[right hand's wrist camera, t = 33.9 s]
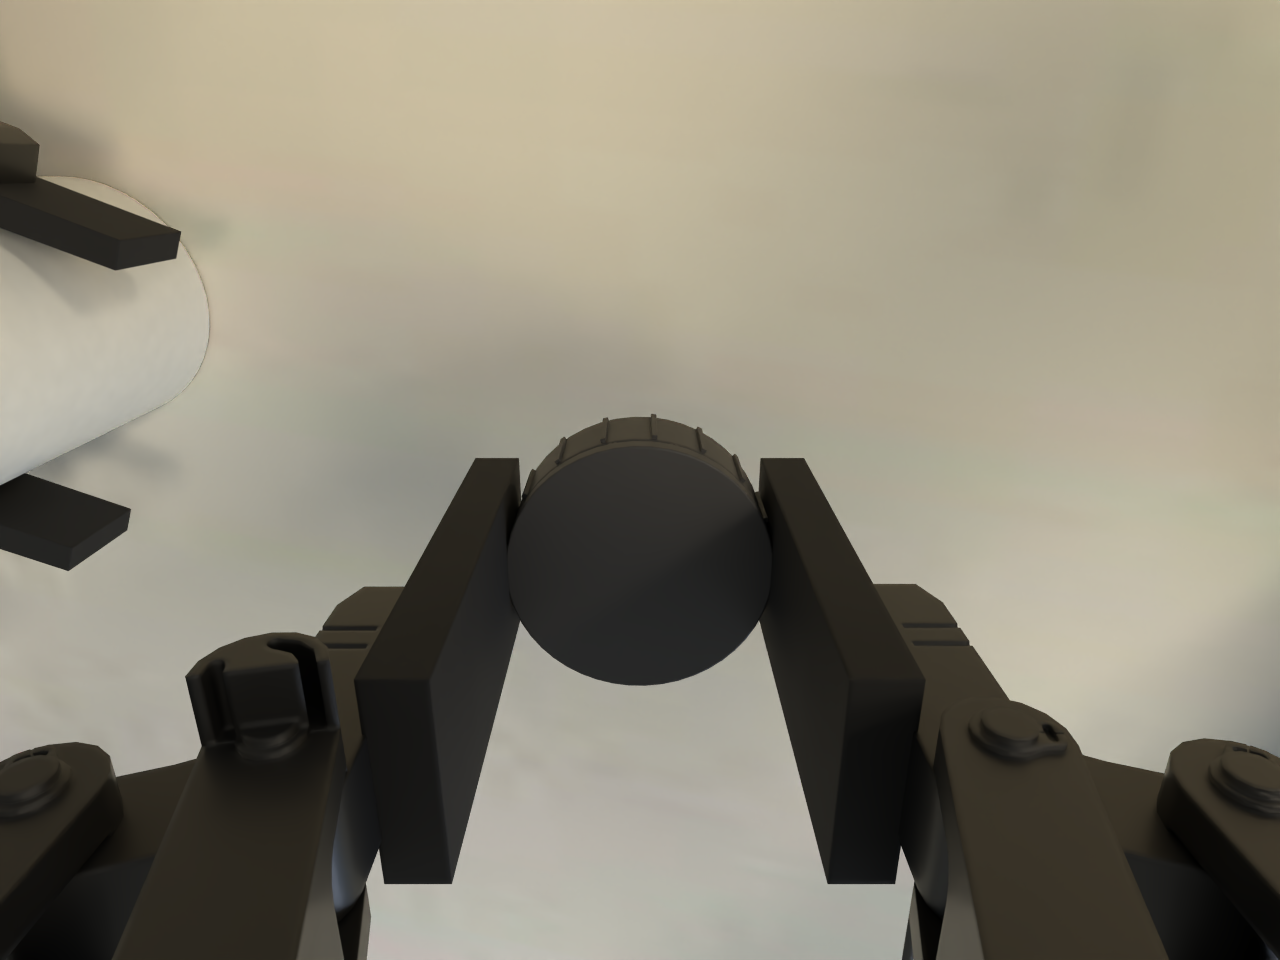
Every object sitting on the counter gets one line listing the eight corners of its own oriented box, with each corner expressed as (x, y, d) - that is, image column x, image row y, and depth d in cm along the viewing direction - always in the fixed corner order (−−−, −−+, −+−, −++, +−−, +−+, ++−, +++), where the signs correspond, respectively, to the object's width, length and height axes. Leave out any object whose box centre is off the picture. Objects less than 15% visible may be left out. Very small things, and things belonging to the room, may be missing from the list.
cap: (582, 366, 13) (575, 393, 12) (810, 481, 14) (830, 518, 13) (477, 577, 15) (459, 624, 13) (689, 671, 16) (695, 725, 14)
